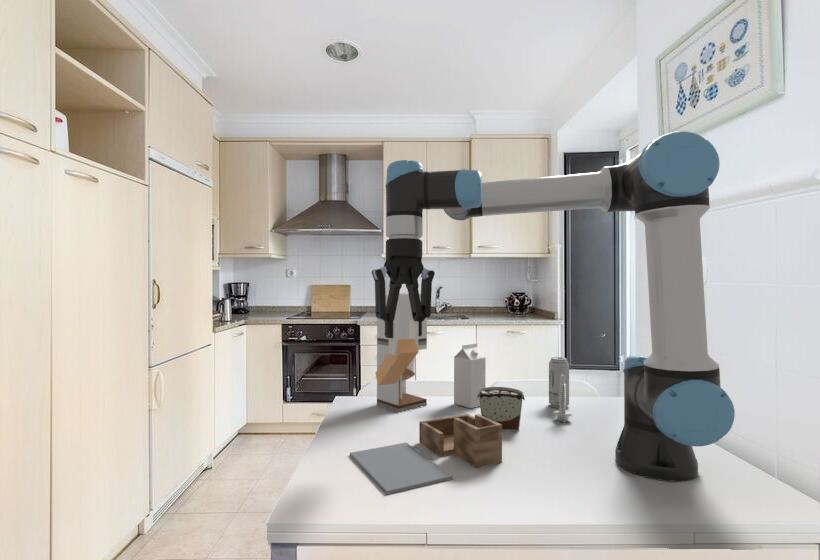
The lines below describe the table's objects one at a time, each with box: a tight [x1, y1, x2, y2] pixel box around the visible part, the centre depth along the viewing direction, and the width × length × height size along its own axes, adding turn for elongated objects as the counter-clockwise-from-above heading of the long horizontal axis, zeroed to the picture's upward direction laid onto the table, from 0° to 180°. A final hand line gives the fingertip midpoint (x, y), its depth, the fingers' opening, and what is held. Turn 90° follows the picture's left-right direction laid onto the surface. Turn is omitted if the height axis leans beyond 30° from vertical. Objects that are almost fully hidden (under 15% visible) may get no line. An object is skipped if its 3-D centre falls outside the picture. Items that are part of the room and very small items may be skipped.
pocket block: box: [418, 413, 503, 469], centre depth 100 cm, size 18×14×8 cm
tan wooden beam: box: [374, 339, 419, 385], centre depth 92 cm, size 14×4×3 cm
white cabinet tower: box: [376, 292, 428, 413], centre depth 136 cm, size 11×11×35 cm
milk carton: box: [453, 343, 487, 409], centre depth 138 cm, size 7×7×19 cm
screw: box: [553, 374, 573, 423], centre depth 122 cm, size 13×5×5 cm
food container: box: [477, 386, 526, 432], centre depth 117 cm, size 12×6×10 cm, turn 84°
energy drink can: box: [548, 356, 570, 409], centre depth 136 cm, size 6×6×15 cm
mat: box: [349, 442, 453, 495], centre depth 91 cm, size 20×14×1 cm
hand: (403, 353), depth 89 cm, fingers closed on tan wooden beam, 4 cm apart
